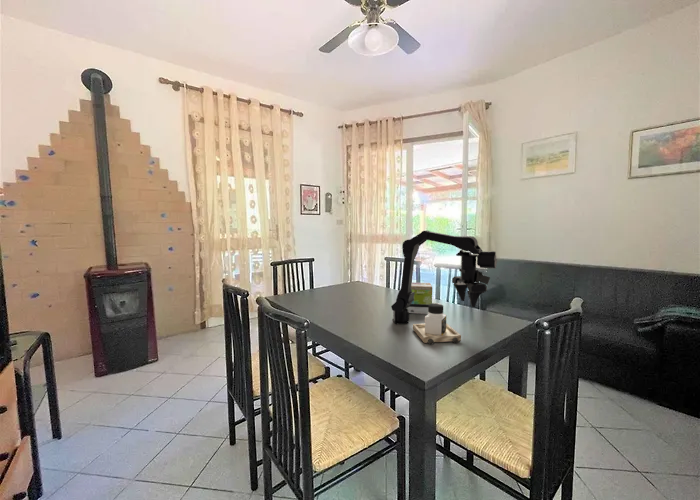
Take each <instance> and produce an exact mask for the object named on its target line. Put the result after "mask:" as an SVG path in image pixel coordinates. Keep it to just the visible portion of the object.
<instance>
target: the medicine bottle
mask: <svg viewBox="0 0 700 500" xmlns="http://www.w3.org/2000/svg"><path fill="white" fill-rule="evenodd" d="M446 323H447V314H444V305H443V304H441V303H439V302H432V303H431V304H429V305H428V314H426V315H425V316H424V324H425V333H427V334H432V335H437V336H439V335H443V334H444V333H445V332H446Z"/></svg>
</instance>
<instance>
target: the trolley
mask: <svg viewBox="0 0 700 500" xmlns="http://www.w3.org/2000/svg"><path fill="white" fill-rule="evenodd" d="M412 330H413V331H414V333H416V335H417V336H418V337H419V338H420V339H421V341H422V342H423V343H426V344H427V343H428V344H429V345H434V343H444V342H445V343H446V342H453V343H454V344H458V342H460V341H462V335H461V334H460V333H459V332H458V331H457V330H455V329H454V328H453V327H452V326H450V325H449V324H448V323H447V322H446V332H445V333H444V334H443V335H439V336H437V335H432V334H427V333H425V323H413V324H412Z"/></svg>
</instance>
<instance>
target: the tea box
mask: <svg viewBox="0 0 700 500" xmlns="http://www.w3.org/2000/svg"><path fill="white" fill-rule="evenodd" d="M411 290H412V292H415V294H414V301H413V302H412V303H411V304H410V305H409V307H408V308H407V309H408V312H409V314H418V315H420V314H422V315H423V314H425V315H428V305H429V304H431V303H433V286H432V284H431V283H430V282H412V283H411Z"/></svg>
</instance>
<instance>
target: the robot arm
mask: <svg viewBox="0 0 700 500" xmlns="http://www.w3.org/2000/svg"><path fill="white" fill-rule="evenodd" d="M426 241H431V242H435V243H440V244H445V245H449V246H450V245H451V246H453V247H455V248H457V249H460V250H459V251H458V252H457V253H456V256H457V257H460V258H461V261H460V262H461V263H460V264H461V266H460V268H459V270H458V271H459V272H460V273H461V274H460V276H459V275H457V276H453V277H452V278H451V283H452V284H453V286H454V288H455V290H456V292H457V294H458V296H459V299H460V301H462V302H464V301H465V299H466V293H467V295H468V298H469V299H468V300H469V302H470V306H471V307H472V308H475V307H476V305H477V302H478V300H479V297H480V295H482V294H484V293H485V292H488V289H487V288H488V286H487V285H489V283H490V279H491V277H489V276H487V275H484V274H483V272H482V271H480V270H479V269H477V266H479V268H480V269H494V270H495V269H497V265H498V258H497V252H496V251H494V250H492V251H486V250H485V251H483V250H482V248H481V247H480V246H479V244H478V243H479V241H478V240H477V238H476V237H474V236H470V235H469V236H467V235H462V236H459V235H450V234H445V233H440V232H435V231H431V230H428V229H427V230H423V231H421V232H420V233H418V234H417V235H415V236H413V237H411V238H410V239H405V240H404V241H403V242H402V244H401V245H402V255H403V259H404V260H403V268H402V275H401V276H402V277H401V285H400V290H398V293H397V296H396V299H395V302H394V303H393V304H392V305H391V306H390V308H391V311H393V317H392V322H393V323H394V325H404V324H409V323H410V322H409V321H410V313H409V312H408V309H407V308H408V307H409V305H410V304H411V303H412V302H413V301H414V294H415V292H412V290H411V283H413V282H412V281H413V276H414V275H413V273H414V266H415V259H416V257H417V255H418V253H419V249H420V246H421V245H423V244H424V243H426Z"/></svg>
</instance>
